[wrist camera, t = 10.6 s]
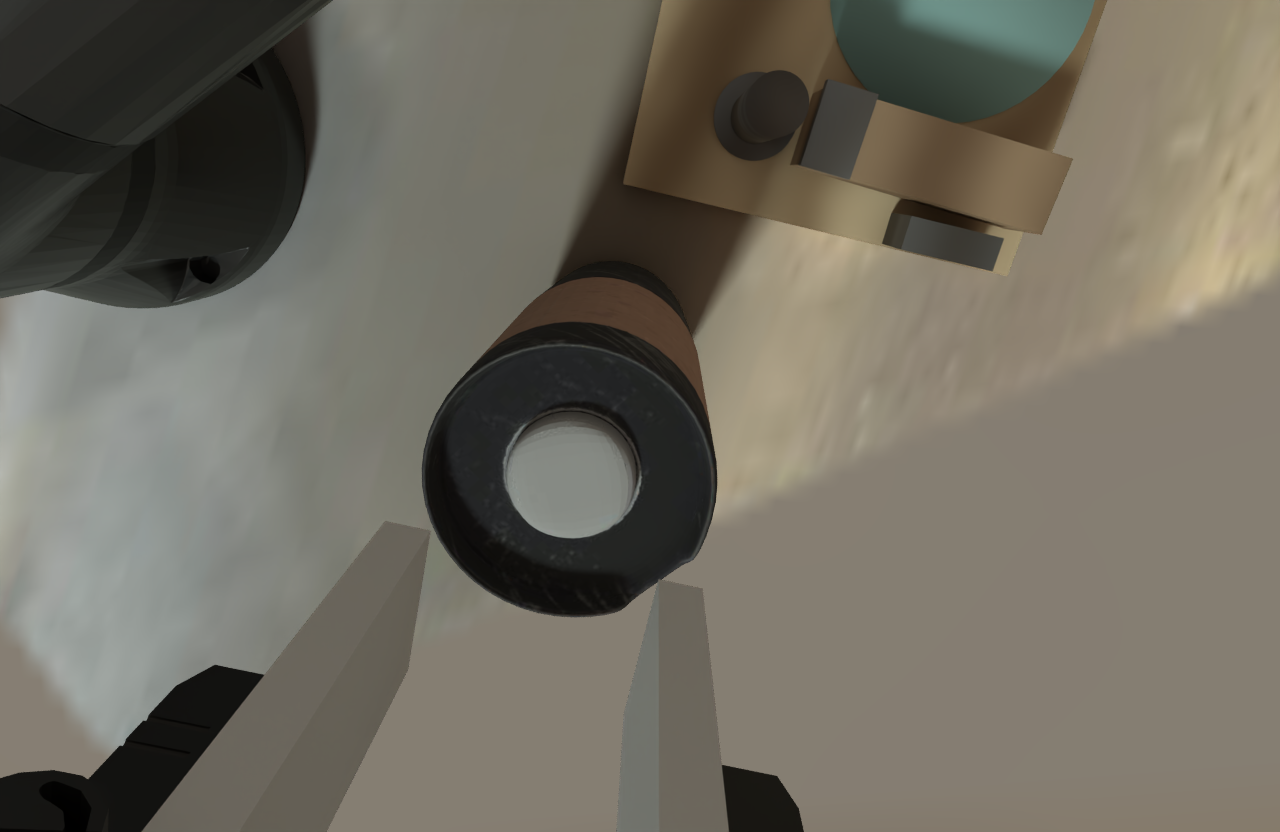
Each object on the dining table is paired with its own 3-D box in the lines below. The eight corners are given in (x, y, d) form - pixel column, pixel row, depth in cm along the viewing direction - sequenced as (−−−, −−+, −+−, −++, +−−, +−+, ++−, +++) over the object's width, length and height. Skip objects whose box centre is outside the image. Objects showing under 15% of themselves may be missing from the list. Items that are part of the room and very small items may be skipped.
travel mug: (540, 245, 38) (420, 317, 19) (701, 264, 38) (745, 355, 19) (528, 400, 40) (409, 605, 21) (680, 418, 40) (700, 639, 21)
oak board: (623, 183, 37) (614, 185, 29) (710, -218, 32) (727, -344, 25) (996, 273, 38) (1085, 298, 30) (1132, -107, 33) (1278, -194, 25)
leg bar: (784, 166, 35) (800, 165, 31) (808, 89, 34) (828, 78, 30) (1004, 231, 36) (1047, 238, 32) (1033, 157, 35) (1082, 155, 31)
